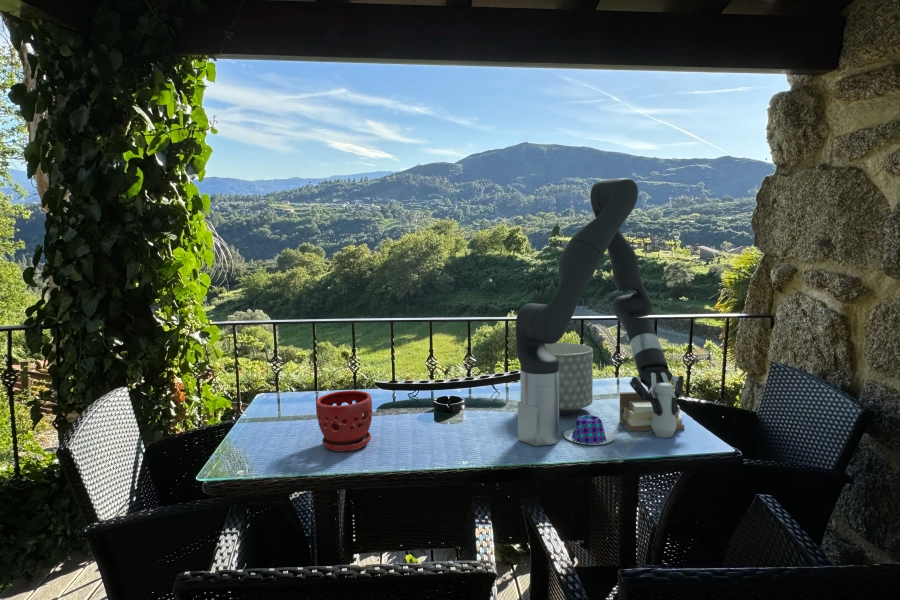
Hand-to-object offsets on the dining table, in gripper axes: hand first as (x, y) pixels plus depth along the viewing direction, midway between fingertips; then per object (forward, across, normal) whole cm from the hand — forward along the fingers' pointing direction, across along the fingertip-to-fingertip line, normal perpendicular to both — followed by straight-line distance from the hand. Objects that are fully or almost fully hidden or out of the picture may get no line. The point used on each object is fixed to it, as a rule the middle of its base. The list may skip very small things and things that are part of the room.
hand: (667, 413), depth 134 cm
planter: (-13, -21, +22) cm, 33 cm away
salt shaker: (+3, 0, +6) cm, 6 cm away
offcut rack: (-2, 0, +11) cm, 11 cm away
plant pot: (+3, -78, +6) cm, 78 cm away
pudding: (+3, -19, +6) cm, 20 cm away
